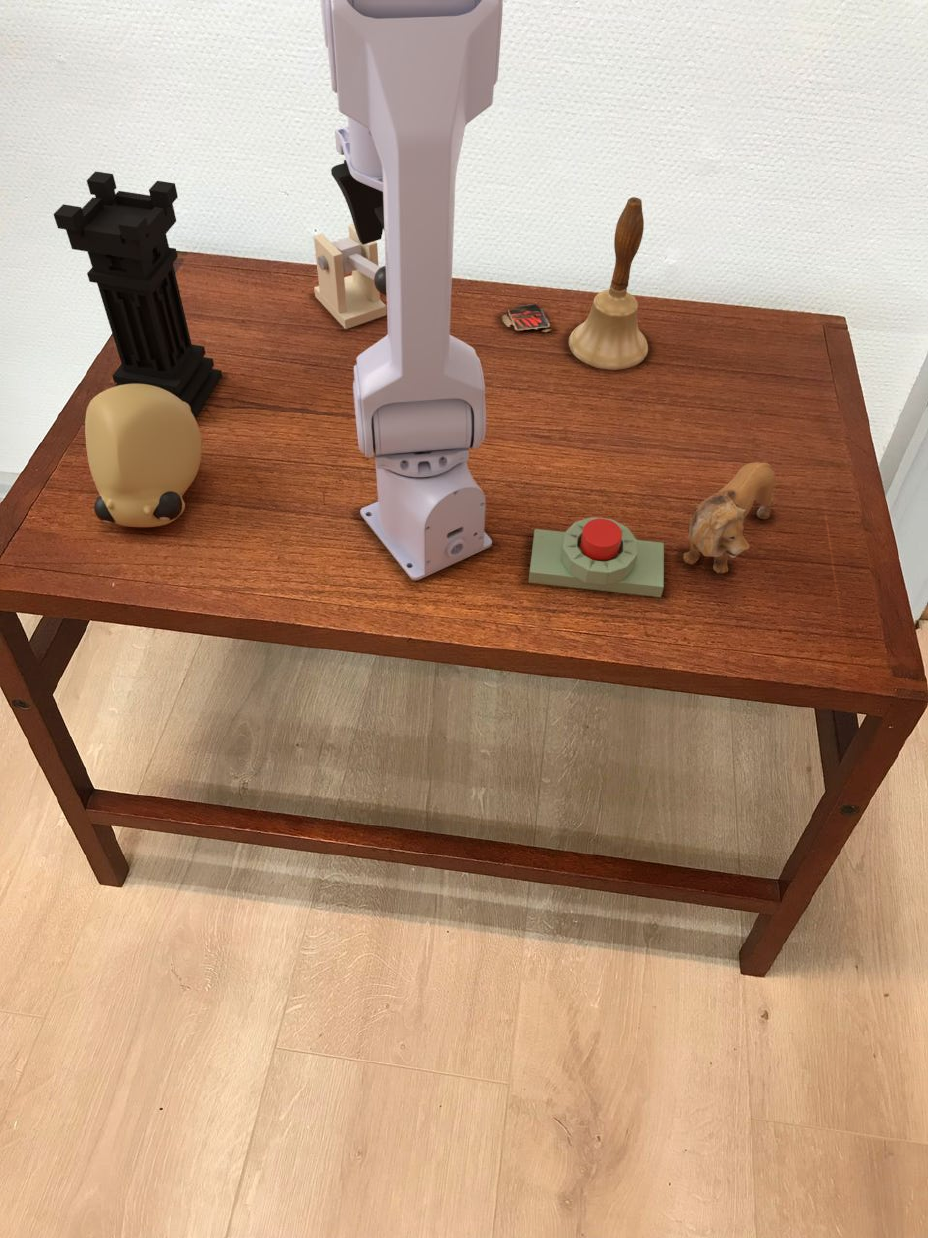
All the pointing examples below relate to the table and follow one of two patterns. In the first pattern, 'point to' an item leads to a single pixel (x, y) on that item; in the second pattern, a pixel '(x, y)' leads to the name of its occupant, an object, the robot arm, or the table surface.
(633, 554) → the button box
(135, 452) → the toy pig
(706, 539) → the lion figurine
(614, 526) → the button
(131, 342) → the chess piece
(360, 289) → the lever stand
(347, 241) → the tap lever
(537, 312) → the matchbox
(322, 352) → the table surface
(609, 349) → the hand bell
